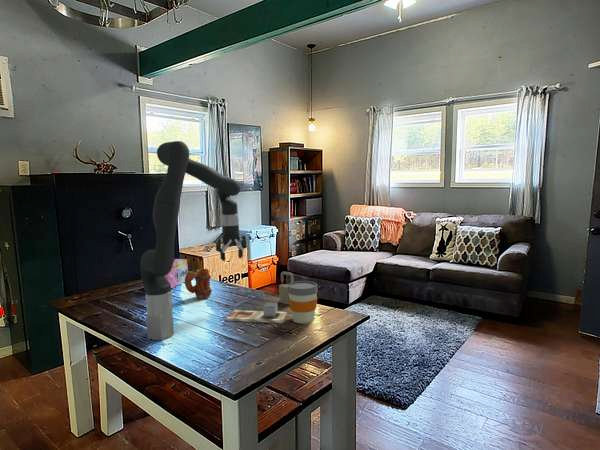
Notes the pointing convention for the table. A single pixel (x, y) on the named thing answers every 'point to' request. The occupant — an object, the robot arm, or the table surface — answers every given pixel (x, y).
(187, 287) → the mug
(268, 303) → the grey block
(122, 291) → the table surface
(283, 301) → the padlock
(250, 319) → the beige flat rectangular frame
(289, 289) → the reusable coffee cup
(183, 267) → the gum box
